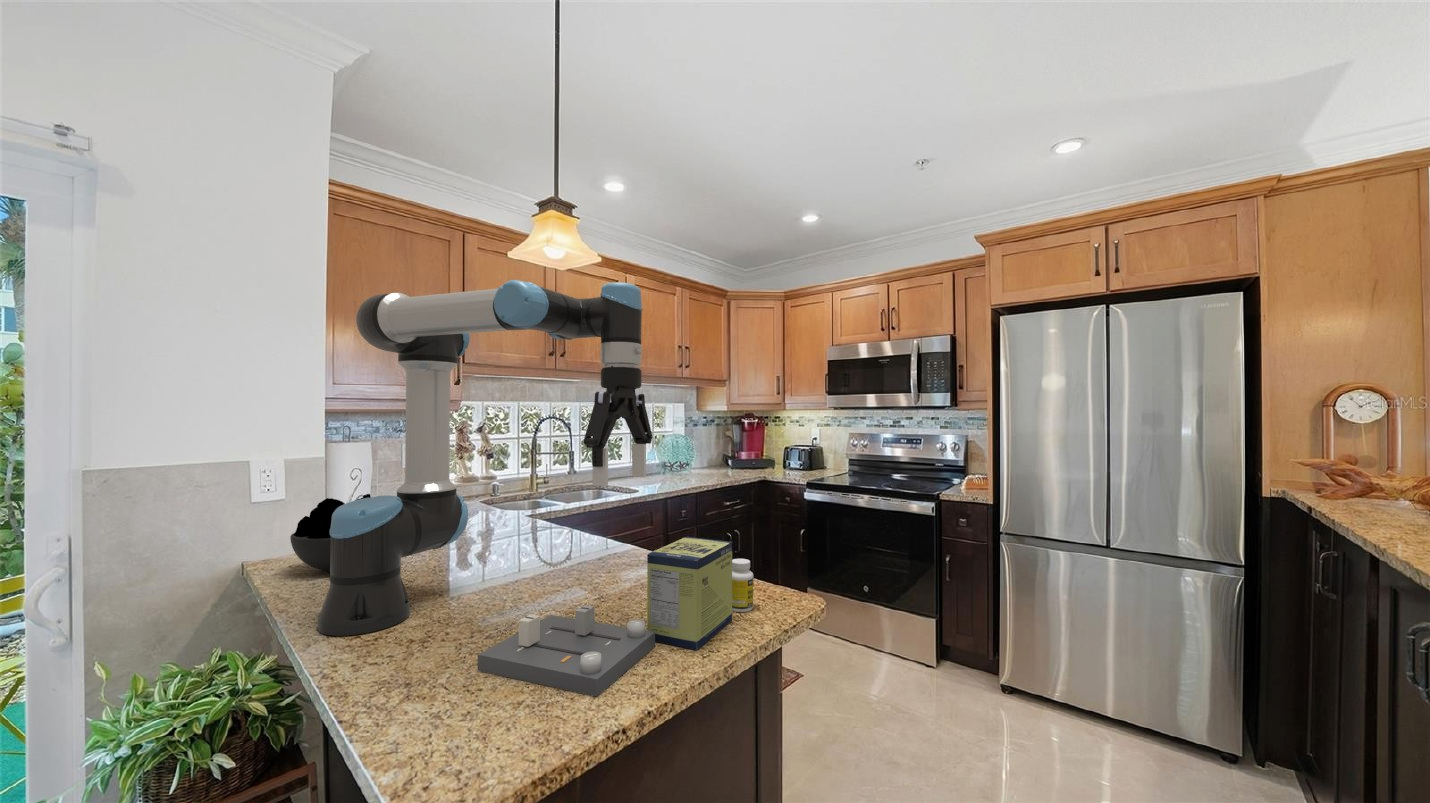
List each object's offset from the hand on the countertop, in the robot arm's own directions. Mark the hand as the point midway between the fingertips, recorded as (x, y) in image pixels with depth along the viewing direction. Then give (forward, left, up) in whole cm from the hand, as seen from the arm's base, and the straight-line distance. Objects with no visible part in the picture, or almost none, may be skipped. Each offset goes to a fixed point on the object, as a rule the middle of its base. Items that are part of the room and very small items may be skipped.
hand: (620, 481), depth 101 cm
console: (-2, -12, -28) cm, 31 cm away
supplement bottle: (+17, +20, -28) cm, 38 cm away
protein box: (+12, +6, -28) cm, 31 cm away
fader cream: (-8, -15, -25) cm, 30 cm away
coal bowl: (-89, +9, -28) cm, 94 cm away
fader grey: (-2, -8, -25) cm, 27 cm away
